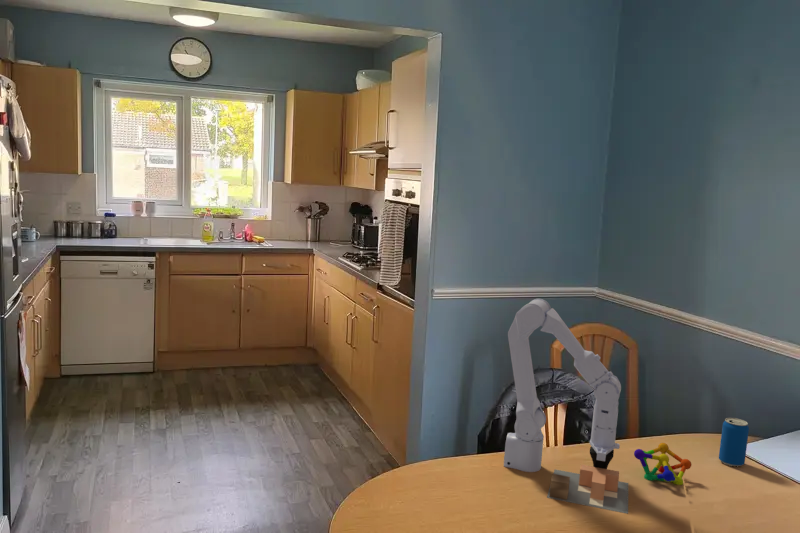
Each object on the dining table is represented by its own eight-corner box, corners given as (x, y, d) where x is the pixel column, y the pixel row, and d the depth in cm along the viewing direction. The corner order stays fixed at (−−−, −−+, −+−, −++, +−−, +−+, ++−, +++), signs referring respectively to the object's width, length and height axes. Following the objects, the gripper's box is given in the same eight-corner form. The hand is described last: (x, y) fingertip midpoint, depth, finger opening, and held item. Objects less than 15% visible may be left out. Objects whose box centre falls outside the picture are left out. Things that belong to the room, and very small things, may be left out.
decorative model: (705, 469, 172) (672, 466, 163) (688, 498, 174) (655, 496, 165) (664, 439, 182) (632, 434, 173) (649, 467, 184) (616, 463, 175)
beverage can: (720, 456, 192) (725, 415, 190) (746, 462, 188) (751, 421, 187) (716, 463, 187) (721, 421, 185) (741, 470, 183) (747, 427, 181)
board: (546, 501, 158) (546, 497, 158) (554, 473, 174) (554, 469, 174) (627, 517, 153) (628, 513, 152) (628, 486, 169) (628, 483, 168)
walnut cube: (549, 496, 159) (550, 480, 158) (551, 489, 162) (552, 473, 162) (566, 500, 157) (568, 483, 157) (568, 492, 161) (569, 476, 161)
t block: (579, 479, 169) (581, 464, 168) (617, 487, 166) (619, 471, 165) (576, 495, 160) (578, 479, 160) (616, 503, 157) (618, 486, 157)
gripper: (621, 438, 159) (615, 493, 160) (621, 418, 172) (616, 469, 174) (589, 433, 161) (584, 487, 162) (592, 414, 174) (588, 464, 176)
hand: (599, 477), depth 168 cm, fingers closed
